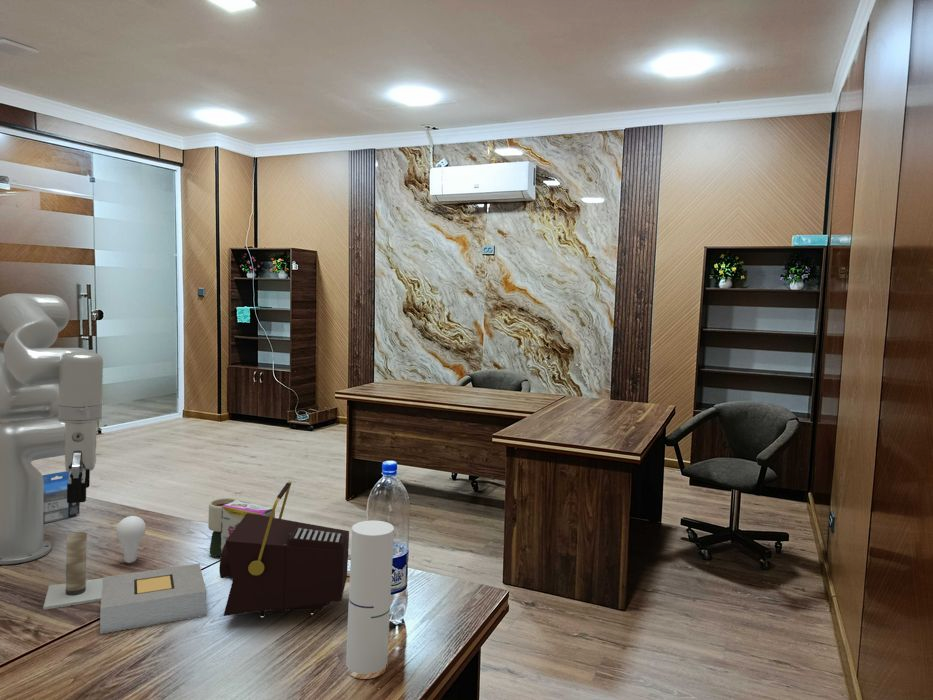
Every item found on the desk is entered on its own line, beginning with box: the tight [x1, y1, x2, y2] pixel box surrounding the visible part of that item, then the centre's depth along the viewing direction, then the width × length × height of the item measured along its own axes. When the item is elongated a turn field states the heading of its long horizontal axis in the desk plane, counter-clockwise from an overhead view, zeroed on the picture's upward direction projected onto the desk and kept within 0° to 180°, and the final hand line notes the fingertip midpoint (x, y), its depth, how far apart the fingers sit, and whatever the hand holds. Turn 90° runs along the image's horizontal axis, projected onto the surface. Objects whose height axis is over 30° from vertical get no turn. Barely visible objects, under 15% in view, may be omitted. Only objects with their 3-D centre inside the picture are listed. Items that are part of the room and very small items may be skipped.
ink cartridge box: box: [42, 470, 81, 525], centre depth 168 cm, size 9×4×12 cm, turn 147°
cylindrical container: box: [345, 520, 395, 674], centre depth 107 cm, size 7×7×25 cm
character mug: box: [207, 497, 240, 557], centre depth 151 cm, size 11×7×13 cm, turn 51°
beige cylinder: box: [65, 531, 88, 596], centre depth 127 cm, size 4×4×12 cm
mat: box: [42, 577, 103, 611], centre depth 127 cm, size 10×10×1 cm
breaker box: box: [99, 563, 208, 635], centre depth 123 cm, size 18×14×5 cm
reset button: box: [137, 576, 172, 594], centre depth 123 cm, size 6×6×3 cm
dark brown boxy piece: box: [218, 480, 350, 617], centre depth 126 cm, size 16×23×25 cm
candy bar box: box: [219, 499, 276, 579], centre depth 139 cm, size 11×5×16 cm, turn 71°
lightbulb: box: [115, 515, 147, 564], centre depth 143 cm, size 6×6×11 cm
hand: (78, 494), depth 127 cm, fingers open, 9 cm apart
